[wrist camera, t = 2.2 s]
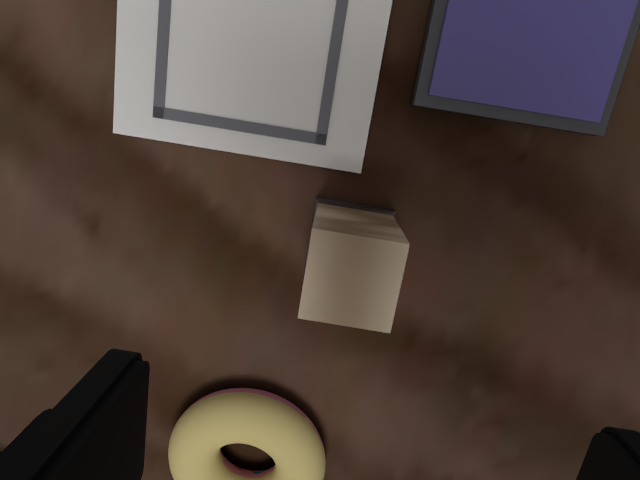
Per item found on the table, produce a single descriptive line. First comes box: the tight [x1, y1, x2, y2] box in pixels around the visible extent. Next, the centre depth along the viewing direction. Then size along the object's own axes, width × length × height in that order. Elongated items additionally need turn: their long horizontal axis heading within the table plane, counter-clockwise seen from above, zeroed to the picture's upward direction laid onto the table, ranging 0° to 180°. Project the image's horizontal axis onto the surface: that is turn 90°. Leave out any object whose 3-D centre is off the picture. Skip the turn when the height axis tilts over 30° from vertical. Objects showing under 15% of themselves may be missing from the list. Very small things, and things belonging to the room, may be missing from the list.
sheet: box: [113, 0, 393, 174], centre depth 23 cm, size 14×12×1 cm
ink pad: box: [411, 0, 640, 136], centre depth 22 cm, size 10×8×1 cm
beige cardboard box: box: [298, 197, 410, 333], centre depth 23 cm, size 4×4×7 cm
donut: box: [168, 388, 326, 480], centre depth 29 cm, size 10×5×9 cm
